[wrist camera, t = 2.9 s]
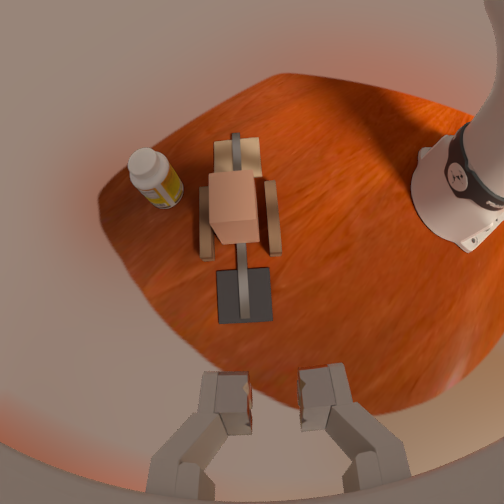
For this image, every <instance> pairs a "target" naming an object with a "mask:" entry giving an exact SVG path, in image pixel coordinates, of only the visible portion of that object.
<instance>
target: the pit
mask: <svg viewBox="0 0 504 504" xmlns="http://www.w3.org/2000/svg"><path fill="white" fill-rule="evenodd" d="M247 274H248V290H249V307H250V318H245V319H241V315H240V297H239V279H238V270H230V271H217V290H218V311H219V324H228V323H247V322H264V321H273V316H272V301H271V287H270V273H269V268H259V269H247Z"/></svg>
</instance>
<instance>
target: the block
mask: <svg viewBox="0 0 504 504" xmlns="http://www.w3.org/2000/svg"><path fill="white" fill-rule="evenodd" d="M209 224H210V225H211V227H212V228H213V230H214V232H215V233H216V235H217V236H218V238H219V240H220V241H221V243H222V244H235V243H248V242H260V239H259V224H258V210H257V198H256V190H255V183H254V175H253V169H251V170H240V171H229V172H219V173H210V174H209Z"/></svg>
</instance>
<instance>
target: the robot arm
mask: <svg viewBox="0 0 504 504" xmlns="http://www.w3.org/2000/svg"><path fill="white" fill-rule="evenodd" d="M484 5H485V9H486V12H487V14H488V17H489V19H490V22H491V24H492V27H493V30H494V35H495V39H496V46H497V69H496V77H495V82H494V85H493V88H492V91H491V93H490V95H489V96H488V98H487V100H486V101H485V103H484V105H483V106H482V107H481V109H480V110H479V112H478V113H477V114H476V116H475V117H474V118H473V120H472V121H471V122H468V123H466V124H465V125H464V126H463V127H461V128H460V129H459V130H458V131H457V132H456V133H455V135H450V136H448V135H445V136H443V137H442V138H441V139H440V140H439V141H438V142H437V143H436V144H435V145H434V146H433V147H424V148H422V149H421V150H420V151H419V153H418V165H417V168H416V170H415V171H414V173H413V176H412V181H411V193H412V198H413V202H414V205H415V208H416V210H417V212H418V214H419V216H420V217H421V219H422V220H423V222H424V223H425V224H426V225H427V227H428V228H429V229H430V230H431V231H433V232H434V233H435V234H436V235H438V236H440V237H441V238H443V239H446V240H449V241H452V242H454V243H456V244H457V245H458V246H459V247H460V248H461V249H462V250H464V251H465V252H467V253H469V252H471V251H473V250H474V249H475V248H476V247H477V246H478V245H479V244H480V243H481V242H482V241H483V240H484V239H485V238H486V237H487V236H488V235H489V234H490V233H491V232H492V231H493V230H494V229H495V228H496V227H497V226H498V225H499V224H500V223H501V222H502V221H503V220H504V0H484ZM472 240H473V242H472ZM297 396H298V405H299V406H300V415H299V416H300V425H301V431H302V432H303V431H313V430H324V429H325V431H326V432H327V433H328V434H329V435H330V437H331V438H332V439H333V440H334V441H335V442H336V443H337V445H338V446H339V447H340V448H341V449H342V450H343V451H344V453H345V454H346V455H347V456H348V457H349V458H350V459H351V461H352V464H351V465H350V466H349V468H348V469H347V471H346V472H345V473H344V475H343V476H342V480H343V488H344V494H337V495H332V496H324V497H317V498H309V499H299V500H287V501H270V502H222V501H215V484H214V483H213V481H212V480H211V479H210V478H209V477H208V476H207V475H206V473H205V472H204V470H205V468H206V467H207V466H208V464H209V463H210V462H211V460H212V459H213V457H214V456H215V455H216V453H217V452H218V451H219V449H220V448H221V446H222V445H223V444H224V442H225V441H226V439H227V438H228V436H229V435H252V414H251V409H252V388H251V383H250V376H249V371H234V372H219V371H218V372H204V373H203V376H202V382H201V389H200V397H199V404H198V412H197V413H193V414H192V415H191V416H190V417H189V418H188V419H187V420H186V421H185V422H184V423H183V425H182V426H181V427H180V428H179V429H178V430H177V431H176V432H175V433H174V434H173V435H172V436H171V437H170V439H169V440H168V441H167V442H166V443H165V444H164V445H163V446H162V447H161V448H160V449H159V450H158V451H157V452H156V453H155V454H154V455H153V456H152V458H151V463H150V469H149V474H148V480H147V486H146V492H140V491H134V490H130V489H125V488H121V487H117V486H113V485H109V484H105V483H102V482H98V481H95V480H91V479H88V478H85V477H82V476H79V475H76V474H73V473H70V472H67V471H64V470H62V469H59V468H56V467H53V466H51V465H48V464H46V463H44V462H41V461H39V460H36V459H34V458H32V457H30V456H28V455H25V454H23V453H21V452H19V451H17V450H15V449H13V448H11V447H9V446H7V445H5V444H3V443H1V442H0V504H504V437H503V438H501V439H499V440H497V441H495V442H493V443H491V444H489V445H487V446H485V447H483V448H481V449H479V450H477V451H475V452H473V453H471V454H469V455H467V456H465V457H462V458H460V459H458V460H455V461H453V462H450V463H448V464H445V465H443V466H440V467H438V468H435V469H433V470H430V471H427V472H424V473H421V474H418V475H415V476H412V477H411V473H410V469H409V465H408V461H407V457H406V453H405V449H404V445H403V442H402V441H401V440H400V439H398V438H397V437H396V436H395V435H394V434H393V433H391V432H390V431H389V430H388V429H387V428H386V427H385V426H383V425H382V424H381V423H380V422H379V421H378V420H377V419H375V418H374V417H373V416H372V415H371V414H370V413H369V412H368V411H366V410H365V409H364V408H363V407H362V406H361V405H360V404H359V403H358V402H355V403H353V401H352V396H351V392H350V388H349V384H348V380H347V376H346V372H345V368H344V365H343V363H334V364H323V365H315V366H307V367H298V380H297Z"/></svg>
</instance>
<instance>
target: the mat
mask: <svg viewBox="0 0 504 504" xmlns="http://www.w3.org/2000/svg"><path fill="white" fill-rule="evenodd" d="M240 148H241V167H242V170H251V169H253V175H254V178H256V177H262V171H261V159H260V148H259V137H257V138H245V139H240ZM229 171H233V148H232V140H225V141H216V142H214V173H219V172H229Z"/></svg>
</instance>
